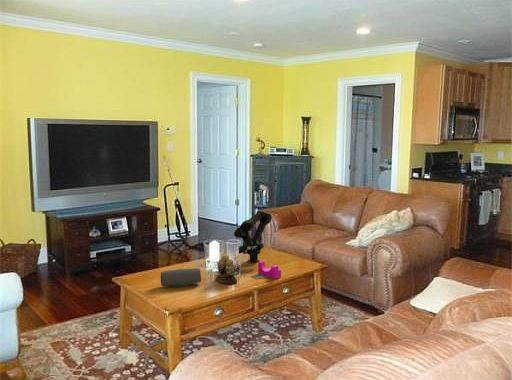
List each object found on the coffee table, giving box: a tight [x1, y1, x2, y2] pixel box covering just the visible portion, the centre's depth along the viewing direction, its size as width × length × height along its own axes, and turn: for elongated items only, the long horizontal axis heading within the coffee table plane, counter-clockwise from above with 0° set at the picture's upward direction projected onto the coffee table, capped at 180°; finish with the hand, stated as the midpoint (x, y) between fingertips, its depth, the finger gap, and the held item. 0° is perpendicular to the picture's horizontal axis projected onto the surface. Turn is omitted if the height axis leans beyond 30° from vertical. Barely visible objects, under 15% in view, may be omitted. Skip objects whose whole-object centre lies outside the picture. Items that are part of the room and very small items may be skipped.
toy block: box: [257, 260, 282, 280], centre depth 288 cm, size 15×6×8 cm, turn 42°
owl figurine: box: [215, 254, 238, 286], centre depth 276 cm, size 18×12×17 cm, turn 35°
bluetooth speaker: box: [160, 268, 202, 288], centre depth 266 cm, size 23×9×10 cm, turn 110°
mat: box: [251, 273, 268, 280], centre depth 288 cm, size 7×16×1 cm, turn 120°
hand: (254, 259), depth 300 cm, fingers closed
